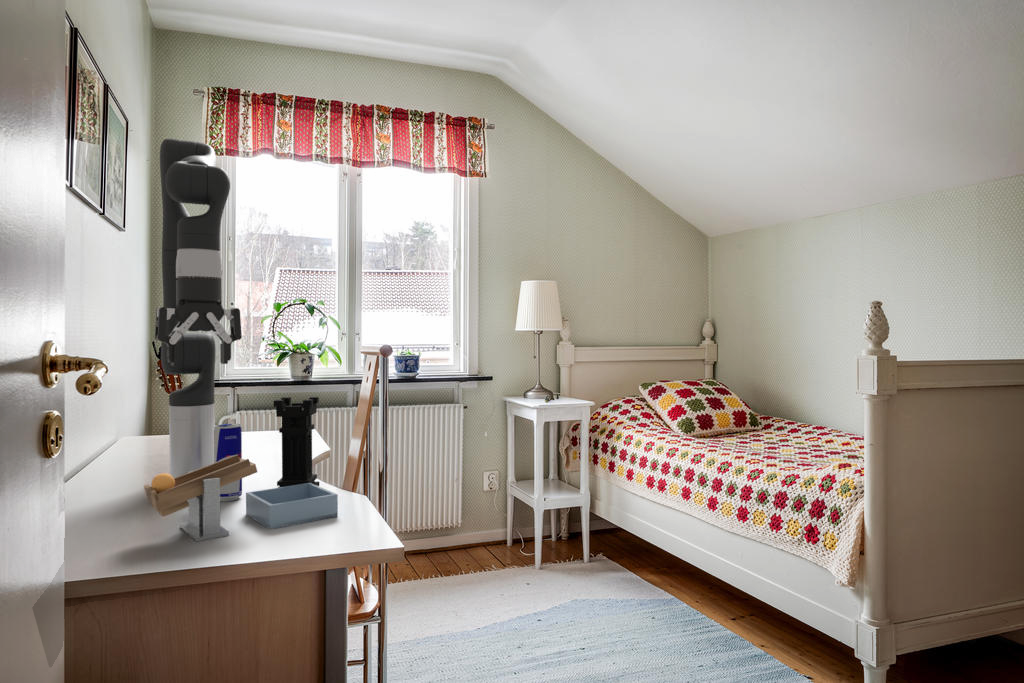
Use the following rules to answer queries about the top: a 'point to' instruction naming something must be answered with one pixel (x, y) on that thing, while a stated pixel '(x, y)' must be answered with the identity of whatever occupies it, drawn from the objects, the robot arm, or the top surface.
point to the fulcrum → (205, 513)
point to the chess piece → (296, 440)
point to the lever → (198, 483)
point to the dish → (291, 505)
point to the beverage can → (225, 446)
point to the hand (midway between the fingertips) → (199, 364)
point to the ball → (162, 482)
